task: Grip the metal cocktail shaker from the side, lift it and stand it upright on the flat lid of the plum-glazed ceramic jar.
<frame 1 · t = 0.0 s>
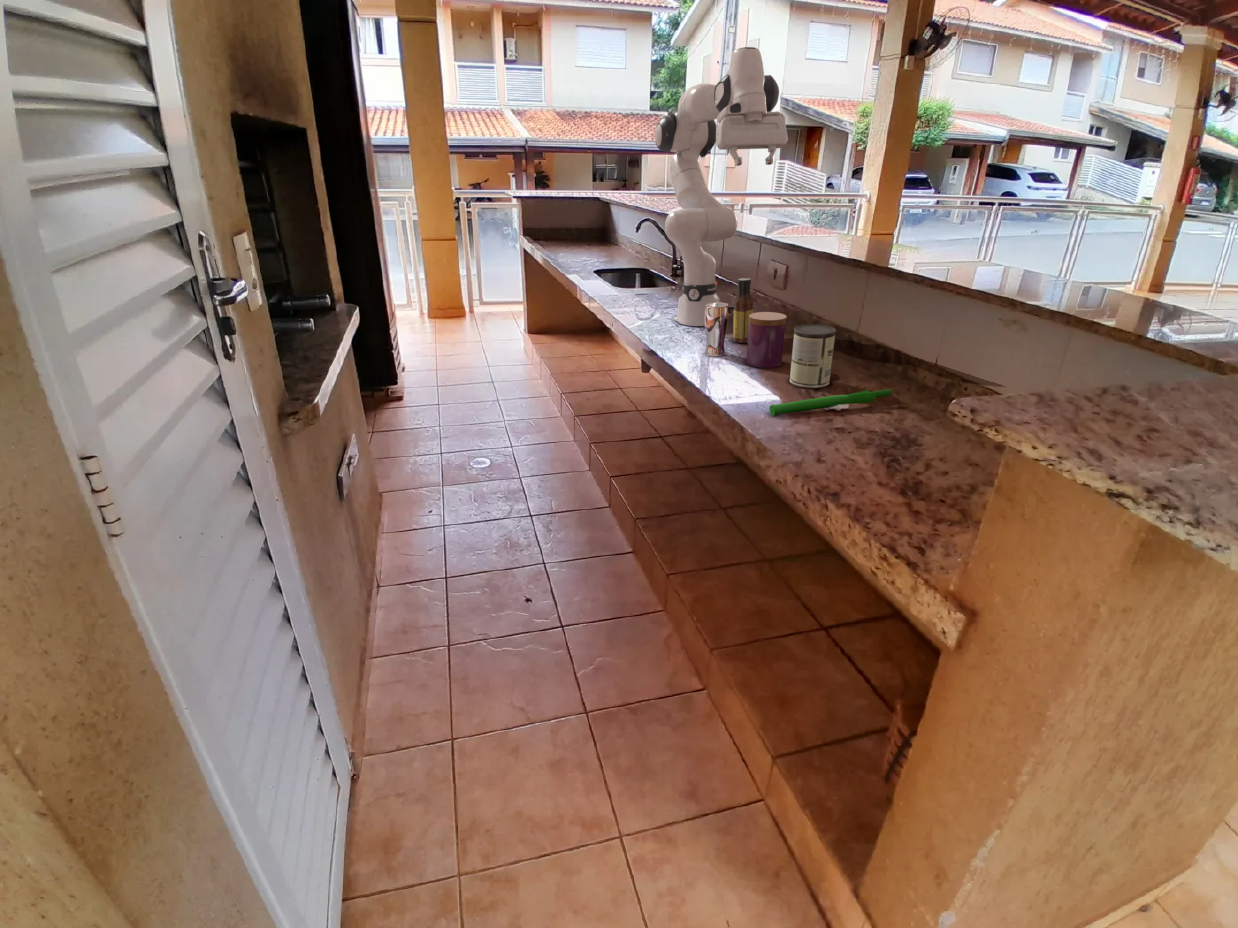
hand: (754, 164, 171), 52 cm above the countertop, tool tilted 20°, fingers open, 8 cm apart
metal cocktail shaker: (714, 354, 188), on the countertop
sauce bottle: (742, 342, 201), on the countertop
jar: (763, 362, 179), on the countertop
coffee can: (808, 382, 163), on the countertop
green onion: (830, 409, 145), on the countertop
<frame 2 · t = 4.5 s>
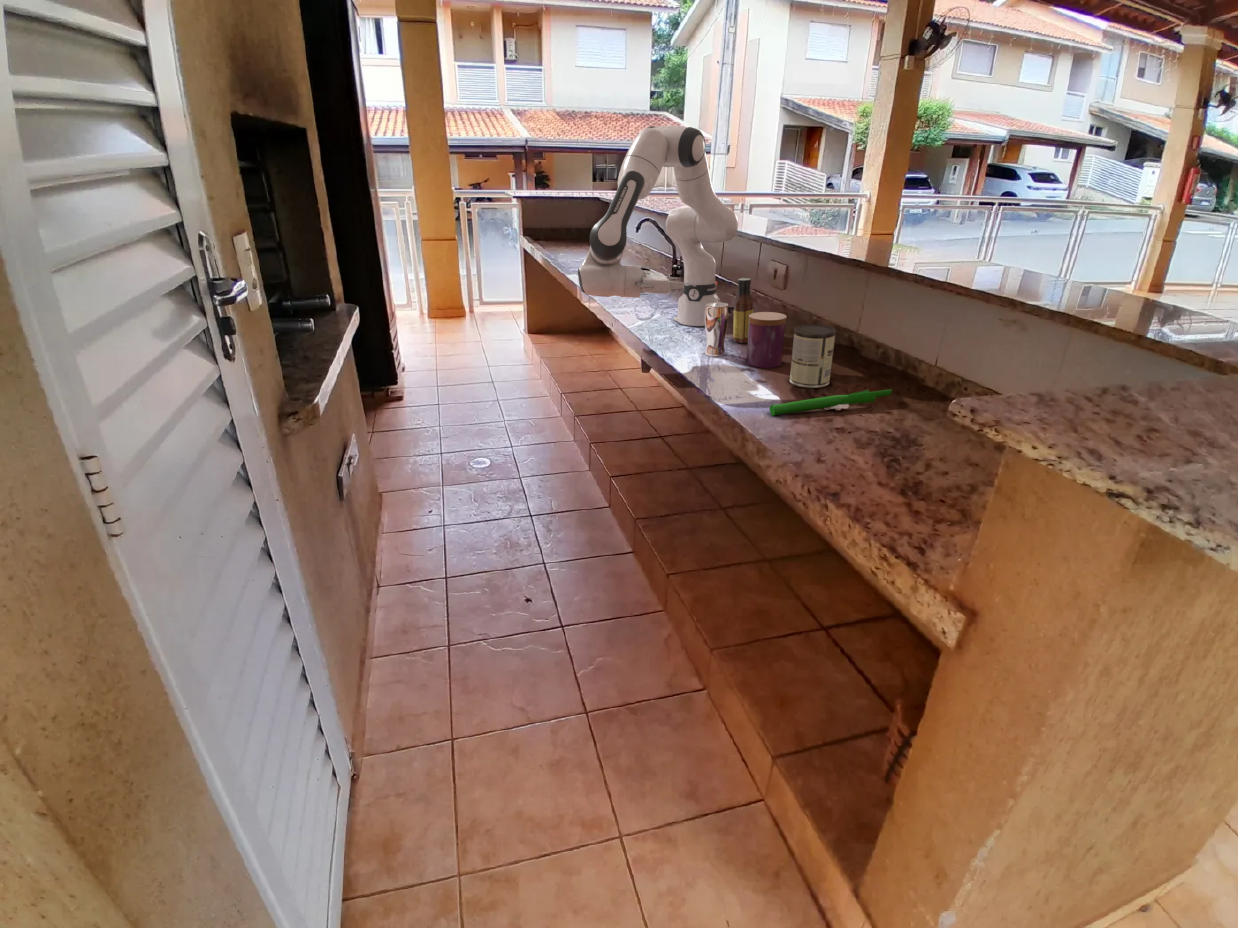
hand: (681, 283, 179), 21 cm above the countertop, tool horizontal, fingers open, 8 cm apart
nothing on the countertop moved.
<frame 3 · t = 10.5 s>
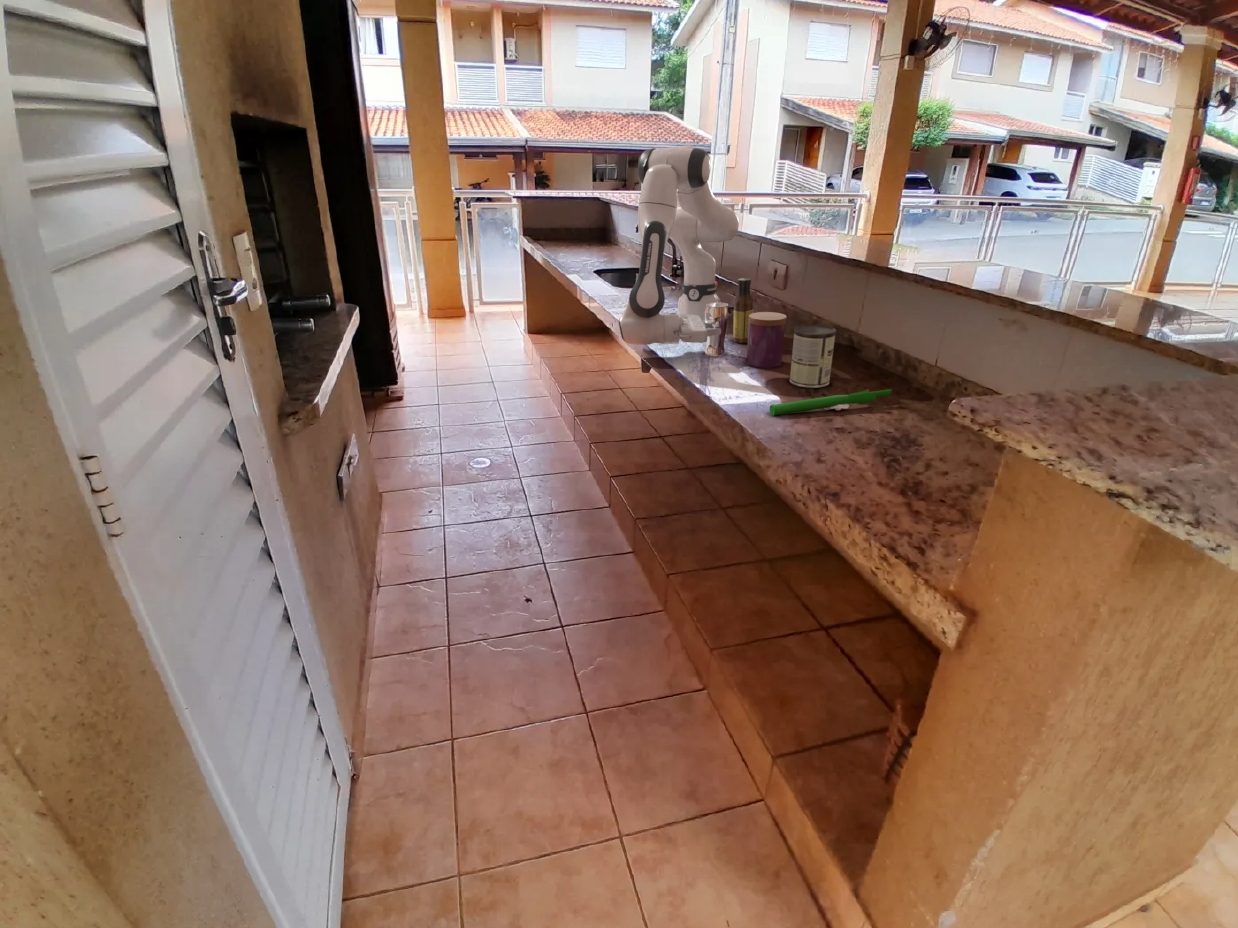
hand: (718, 327, 185), 8 cm above the countertop, tool horizontal, fingers closed on metal cocktail shaker, 6 cm apart
metal cocktail shaker: (714, 354, 188), on the countertop, touching gripper
everything else where it was.
when the fingers open (22 cm above the countertop, at t = 19.0 s): metal cocktail shaker stays where it is, resting on jar.
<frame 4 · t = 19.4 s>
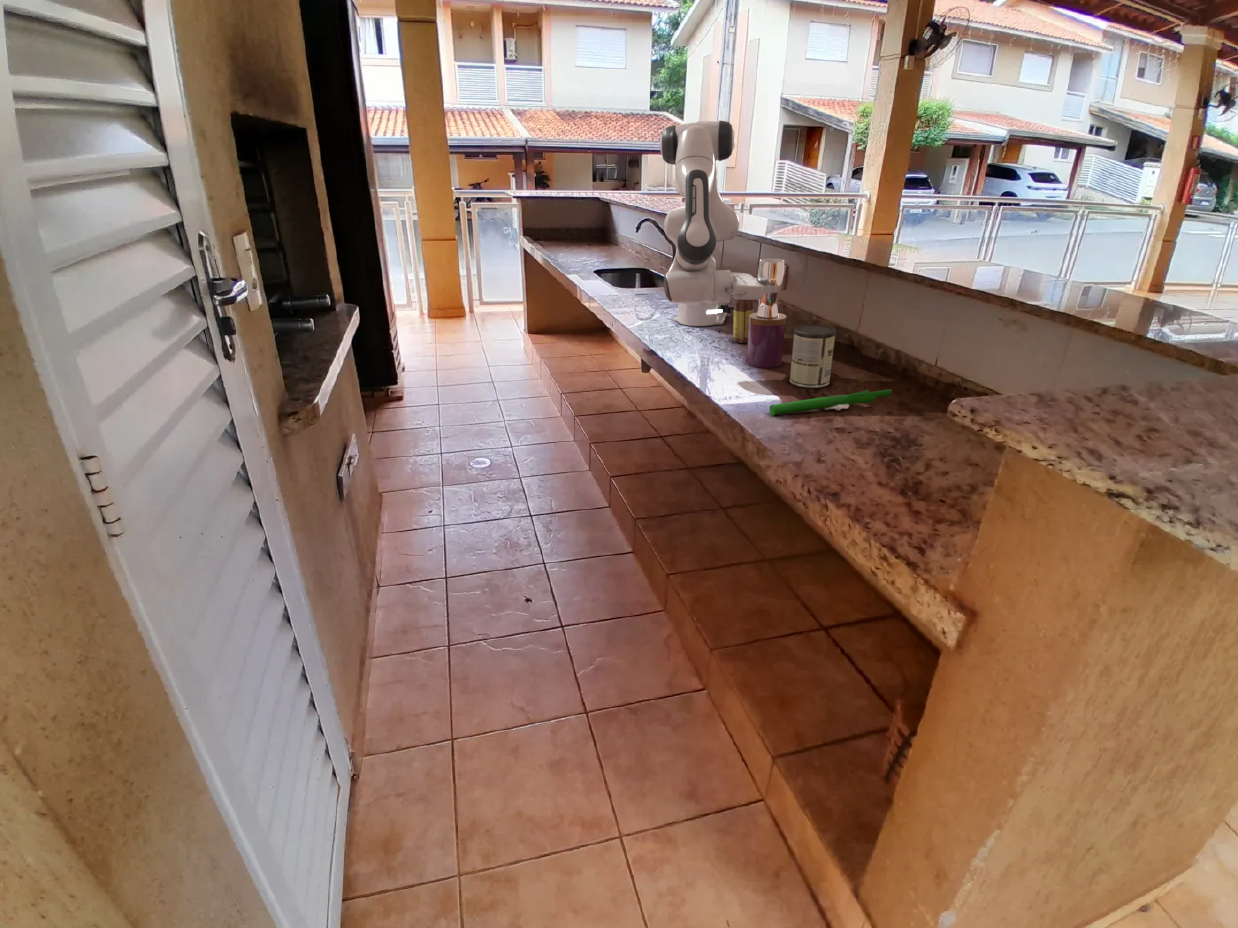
hand: (773, 285, 169), 22 cm above the countertop, tool horizontal, fingers open, 8 cm apart
metal cocktail shaker: (767, 316, 173), point 13 cm above the countertop, touching jar
everything else where it was.
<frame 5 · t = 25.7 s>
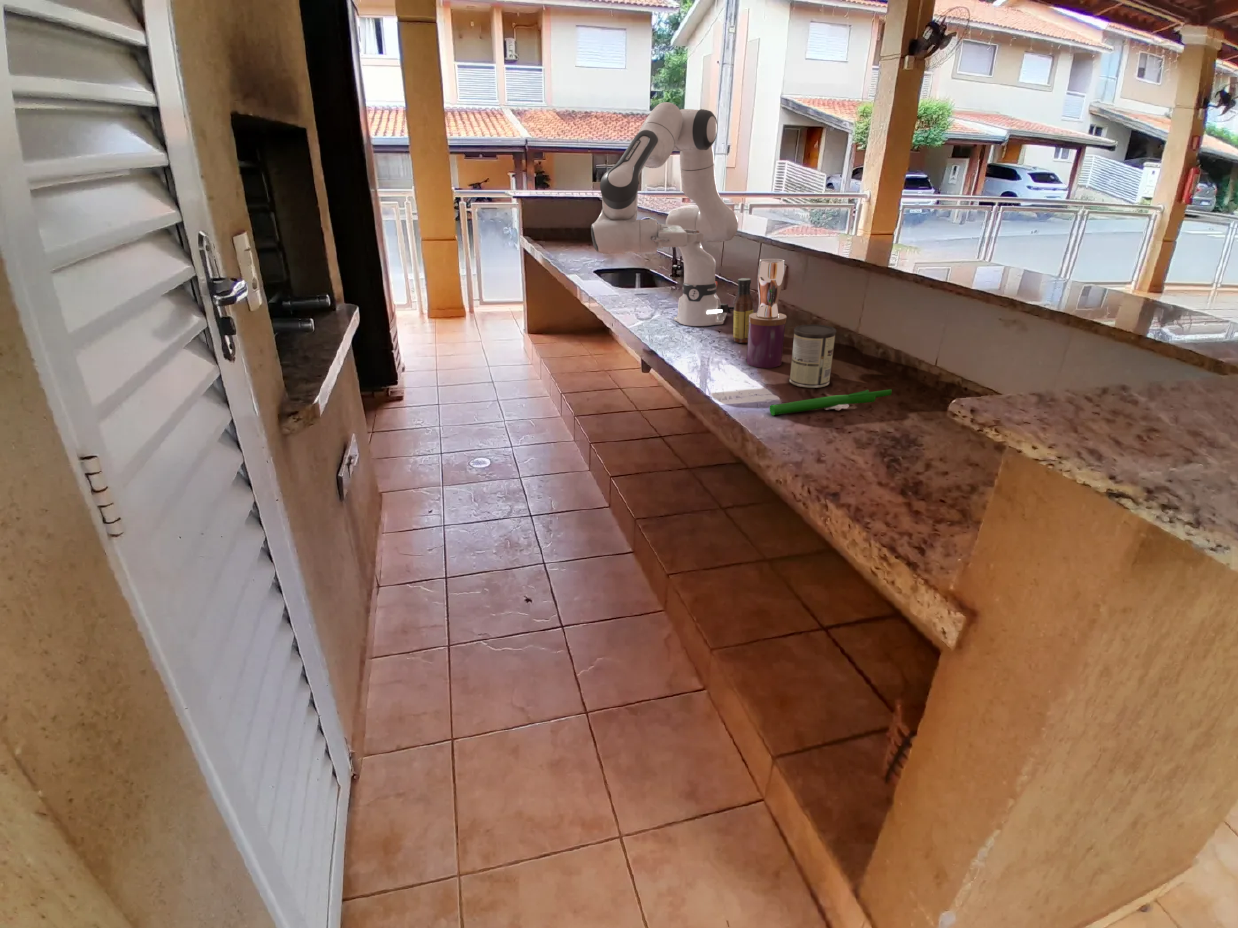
hand: (700, 235, 168), 35 cm above the countertop, tool horizontal, fingers open, 8 cm apart
nothing on the countertop moved.
at the end: metal cocktail shaker inside the target area on the jar (0.1 cm from its centre), point 13.4 cm above the jar's base; metal cocktail shaker tilted 0°; the gripper is holding nothing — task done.
